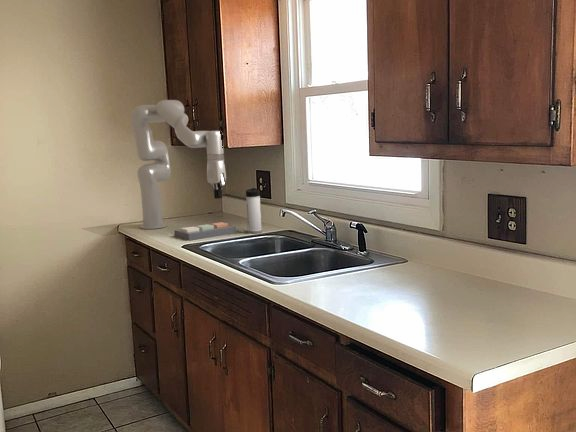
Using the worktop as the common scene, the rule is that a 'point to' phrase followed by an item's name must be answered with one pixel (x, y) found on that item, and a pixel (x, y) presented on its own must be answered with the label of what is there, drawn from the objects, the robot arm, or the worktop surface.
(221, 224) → the terracotta key
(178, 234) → the keypad console
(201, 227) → the sage key
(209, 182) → the robot arm
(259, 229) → the travel mug
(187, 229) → the cream key
